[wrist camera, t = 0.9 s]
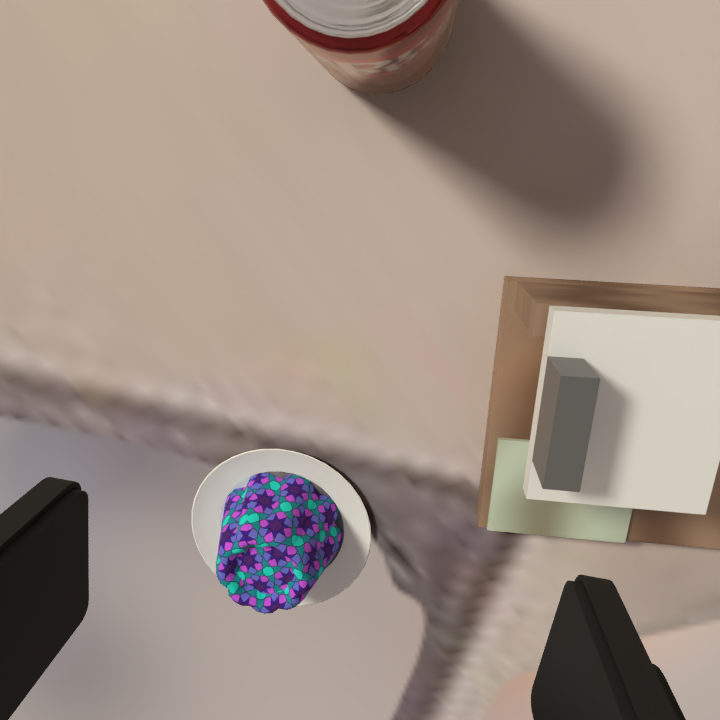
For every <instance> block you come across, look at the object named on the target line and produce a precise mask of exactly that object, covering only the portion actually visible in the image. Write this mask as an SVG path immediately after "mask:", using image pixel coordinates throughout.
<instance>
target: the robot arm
mask: <svg viewBox="0 0 720 720" xmlns="http://www.w3.org/2000/svg"><path fill="white" fill-rule="evenodd" d="M88 581H89V580H88V495H87V493H86V492H85V491H81V486H80V484H79V483H77V482H74V481H68V480H63V479H57V478H52V477H48V478H45V479H43V480H42V481H41V482H39V483H38V484H37V485H36V486H35V487H33V488H32V489H31V490H30V491H28V492H27V493H26V494H25V495H24V496H22V497H21V498H20V499H19V500H18V501H16V502H15V503H14V504H13V505H11V506H10V507H9V508H8V509H7V510H5V511H4V512H3V513H2V514H0V720H8V719H9V718H10V716H11V715H12V714H13V712H14V711H15V710H16V709H17V707H18V706H19V705H20V703H21V702H22V701H23V699H24V698H25V697H26V695H27V694H28V693H29V691H30V690H31V689H32V687H33V686H34V685H35V683H36V682H37V680H38V679H39V678H40V676H41V675H42V674H43V672H44V671H45V669H46V668H47V667H48V666H49V664H50V663H51V662H52V660H53V659H54V658H55V656H56V655H57V654H58V652H59V651H60V650H61V648H62V647H63V646H64V644H65V643H66V642H67V640H68V639H69V638H70V636H71V635H72V634H73V632H74V631H75V630H76V628H77V627H78V626H79V624H80V623H81V621H82V620H83V618H84V616H85V614H86V611H87V608H88V601H89V590H88V589H89V588H88V587H89V584H88V583H89V582H88ZM531 708H532V714H533V718H534V720H686V719H685V717H684V715H683V713H682V711H681V709H680V707H679V705H678V703H677V701H676V699H675V697H674V695H673V693H672V691H671V689H670V687H669V685H668V682H667V681H666V679H665V676H664V675H663V673H662V672H661V670H660V669H659V668H658V667H657V666H656V665H654V664H652V663H651V661H650V659H649V656H648V655H647V653H646V650H645V648H644V646H643V644H642V642H641V640H640V638H639V635H638V633H637V631H636V629H635V627H634V625H633V623H632V621H631V619H630V616H629V614H628V612H627V610H626V608H625V606H624V604H623V602H622V600H621V597H620V595H619V593H618V591H617V589H616V587H615V585H614V583H613V582H612V581H610V580H607V579H602V578H596V577H591V576H585V575H578V577H577V578H576V579H575V582H574V581H567V582H566V584H565V586H564V589H563V592H562V595H561V598H560V602H559V605H558V608H557V611H556V614H555V617H554V621H553V624H552V627H551V630H550V633H549V636H548V640H547V643H546V646H545V649H544V652H543V655H542V659H541V662H540V665H539V668H538V671H537V674H536V678H535V681H534V684H533V687H532V693H531Z"/></svg>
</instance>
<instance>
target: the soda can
mask: <svg viewBox="0 0 720 720" xmlns="http://www.w3.org/2000/svg"><path fill="white" fill-rule="evenodd" d="M263 1H264V3H265V4H266V6H267V7H268V9H269V10H270V11H271V13H272V14H273V15H274V16H275V18H276V19H277V20H278V21H279V22H280V23H281V24H282V25H283V26H284V27H285V28H286V29H287V30H288V31H289V32H290V33H291V34H292V35H293V36H294V37H295V38H296V39H297V40H298V41H299V42H300V43H301V44H302V45H303V46H304V48H305V49H306V50H307V51H308V52H309V53H310V54H311V55H312V56H313V57H314V58H315V59H316V60H317V61H318V62H319V63H320V64H321V65H322V66H323V67H324V68H325V69H326V70H327V71H328V72H329V73H330V74H331V75H332V76H333V77H334V78H335V79H336V80H338V81H339V82H341V83H343V84H344V85H346V86H347V87H350V88H352V89H355V90H357V91H360V92H365V93H372V94H382V93H391V92H394V91H398V90H401V89H404V88H406V87H408V86H410V85H412V84H414V83H416V82H417V81H418V80H419V79H421V78H422V77H423V76H424V75H426V74H427V73H428V72H429V71H430V70H431V69H432V67H433V66H434V65H435V64H436V63H437V62H438V60H439V59H440V57H441V55H442V53H443V52H444V50H445V48H446V47H447V44H448V41H449V38H450V36H451V33H452V30H453V25H454V20H455V15H456V11H457V6H458V1H459V0H263Z"/></svg>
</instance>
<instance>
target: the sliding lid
mask: <svg viewBox="0 0 720 720" xmlns="http://www.w3.org/2000/svg"><path fill="white" fill-rule="evenodd" d="M719 461H720V316H715V315H699V314H682V313H666V312H650V311H633V310H617V309H601V308H584V307H568V306H552V305H549V312H548V319H547V326H546V333H545V339H544V346H543V353H542V360H541V367H540V374H539V381H538V387H537V394H536V401H535V408H534V415H533V422H532V428H531V435H530V442H529V449H528V456H527V463H526V470H525V476H524V483H523V490H524V493H525V496H526V499H534V500H545V501H556V502H567V503H579V504H590V505H601V506H612V507H623V508H635V509H646V510H657V511H668V512H679V513H691V514H702V515H706V511H707V507H708V503H709V500H710V496H711V492H712V488H713V484H714V481H715V477H716V473H717V469H718V465H719Z"/></svg>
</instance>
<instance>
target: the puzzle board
mask: <svg viewBox="0 0 720 720" xmlns="http://www.w3.org/2000/svg"><path fill="white" fill-rule="evenodd" d="M549 305H552V306H568V307H584V308H601V309H617V310H633V311H650V312H666V313H682V314H699V315H715V316H720V289H719V288H701V287H684V286H667V285H649V284H632V283H614V282H597V281H580V280H562V279H545V278H527V277H510V276H505V278H504V286H503V294H502V303H501V311H500V320H499V328H498V336H497V345H496V353H495V361H494V370H493V378H492V387H491V395H490V403H489V412H488V420H487V428H486V437H485V445H484V454H483V462H482V470H481V479H480V487H479V495H478V504H477V512H476V513H477V519H478V526H479V527H487V530H491V531H502V532H512V533H523V534H533V535H544V536H555V537H565V538H576V539H587V540H597V541H608V542H618V543H625V541H626V540H628V541H639V542H649V543H660V544H671V545H681V546H692V547H703V548H713V549H720V461H719V465H718V469H717V473H716V477H715V481H714V484H713V488H712V492H711V496H710V500H709V503H708V507H707V511H706V515H702V514H691V513H679V512H668V511H657V510H646V509H635V508H623V507H612V506H601V505H590V504H579V503H567V502H556V501H545V500H534V499H526V496H525V493H524V490H523V483H524V476H525V470H526V463H527V456H528V449H529V442H530V435H531V428H532V422H533V415H534V408H535V401H536V394H537V387H538V381H539V374H540V367H541V360H542V353H543V346H544V339H545V333H546V326H547V319H548V312H549Z"/></svg>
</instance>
